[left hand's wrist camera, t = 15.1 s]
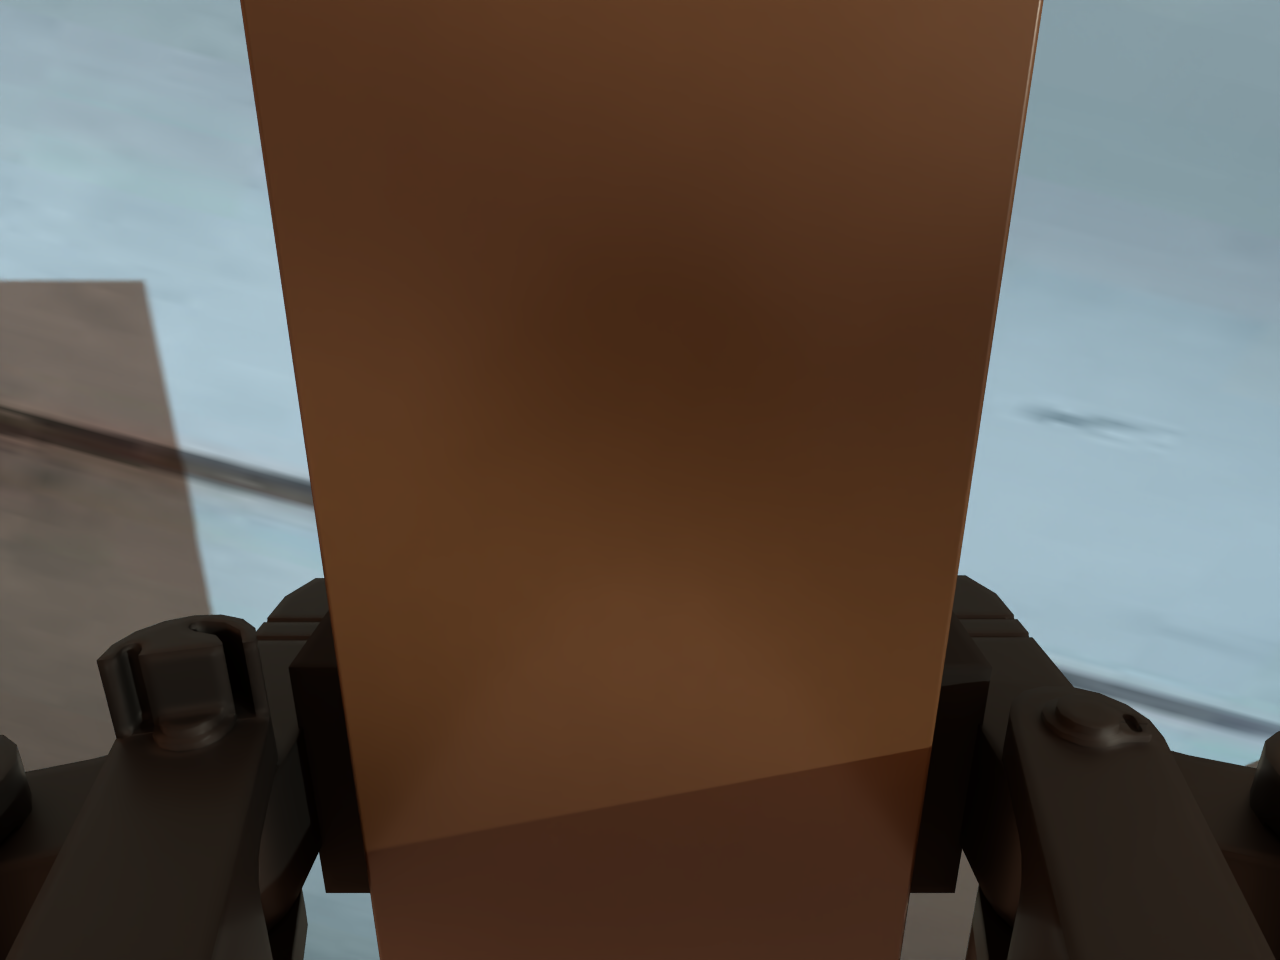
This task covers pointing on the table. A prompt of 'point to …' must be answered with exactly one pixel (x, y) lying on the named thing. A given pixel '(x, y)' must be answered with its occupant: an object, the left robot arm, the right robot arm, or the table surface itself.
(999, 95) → the post
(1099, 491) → the table surface
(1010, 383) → the table surface
